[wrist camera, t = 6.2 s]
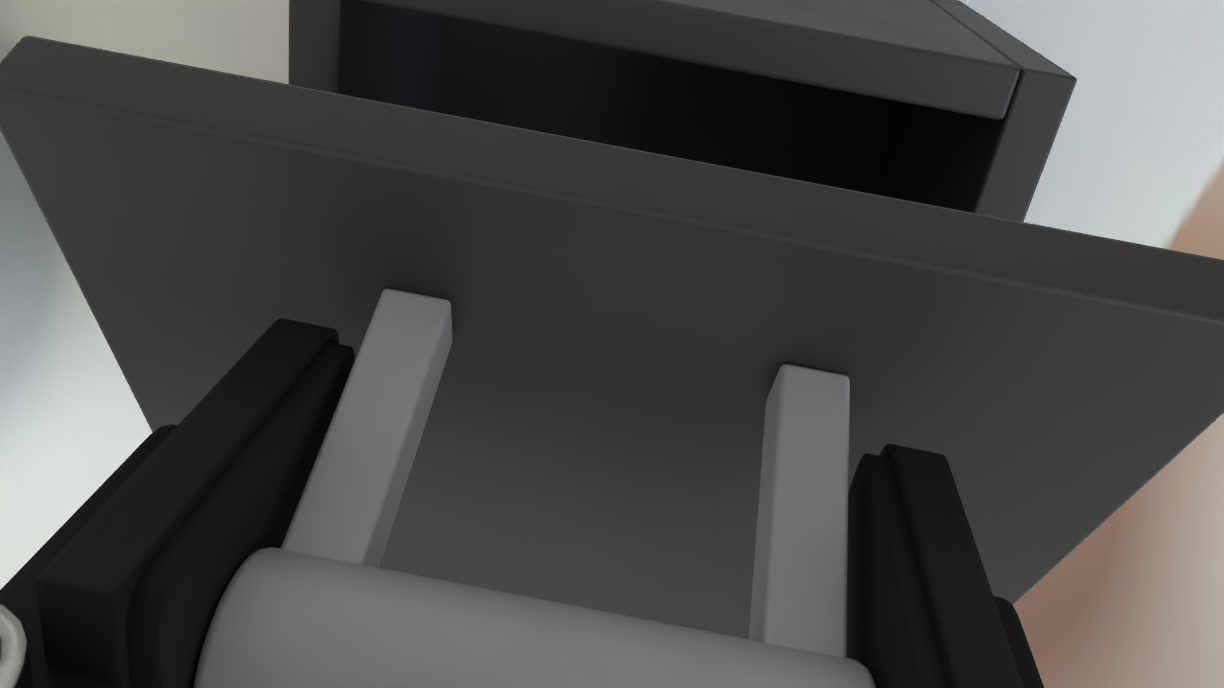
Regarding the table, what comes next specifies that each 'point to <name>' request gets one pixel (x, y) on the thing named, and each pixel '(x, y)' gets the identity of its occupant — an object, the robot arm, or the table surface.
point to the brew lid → (592, 375)
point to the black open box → (721, 84)
